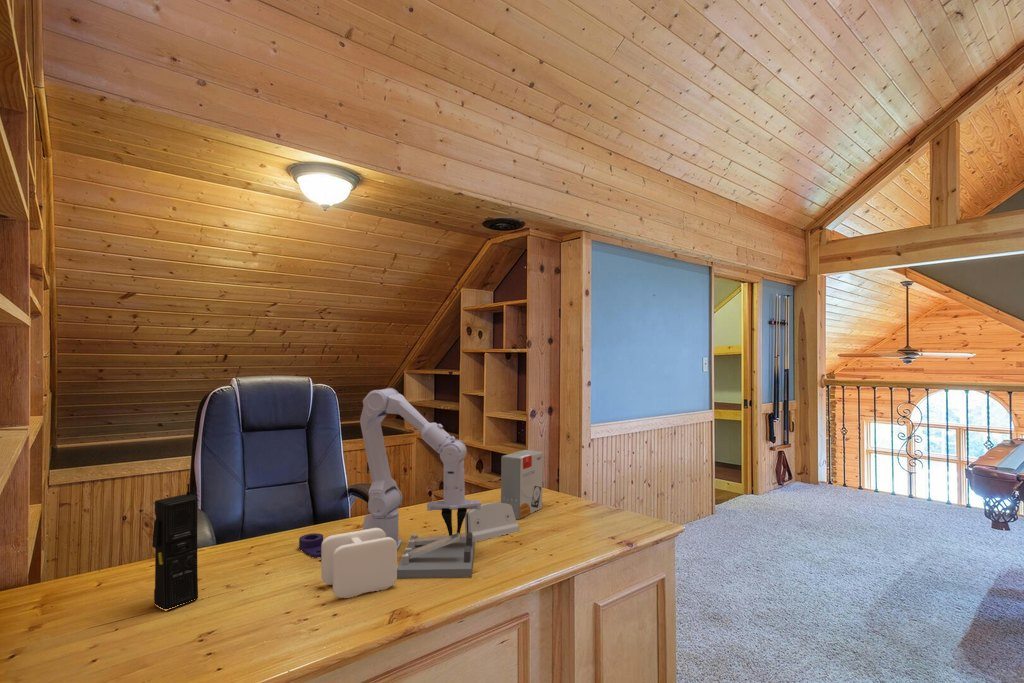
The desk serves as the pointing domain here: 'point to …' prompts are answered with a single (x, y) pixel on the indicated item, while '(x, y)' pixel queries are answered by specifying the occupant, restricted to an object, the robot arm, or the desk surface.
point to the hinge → (491, 521)
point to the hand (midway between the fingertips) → (454, 536)
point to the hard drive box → (522, 481)
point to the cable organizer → (359, 562)
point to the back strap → (433, 539)
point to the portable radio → (175, 550)
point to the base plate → (439, 560)
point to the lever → (311, 544)
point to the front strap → (433, 546)
